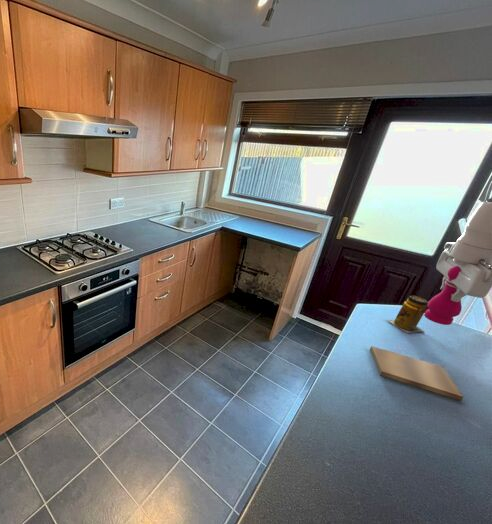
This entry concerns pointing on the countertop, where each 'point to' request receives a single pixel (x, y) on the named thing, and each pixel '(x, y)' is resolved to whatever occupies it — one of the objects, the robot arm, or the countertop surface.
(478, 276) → the robot arm
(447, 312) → the pepper mill
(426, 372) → the chopping board
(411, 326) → the condiment
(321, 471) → the countertop surface
